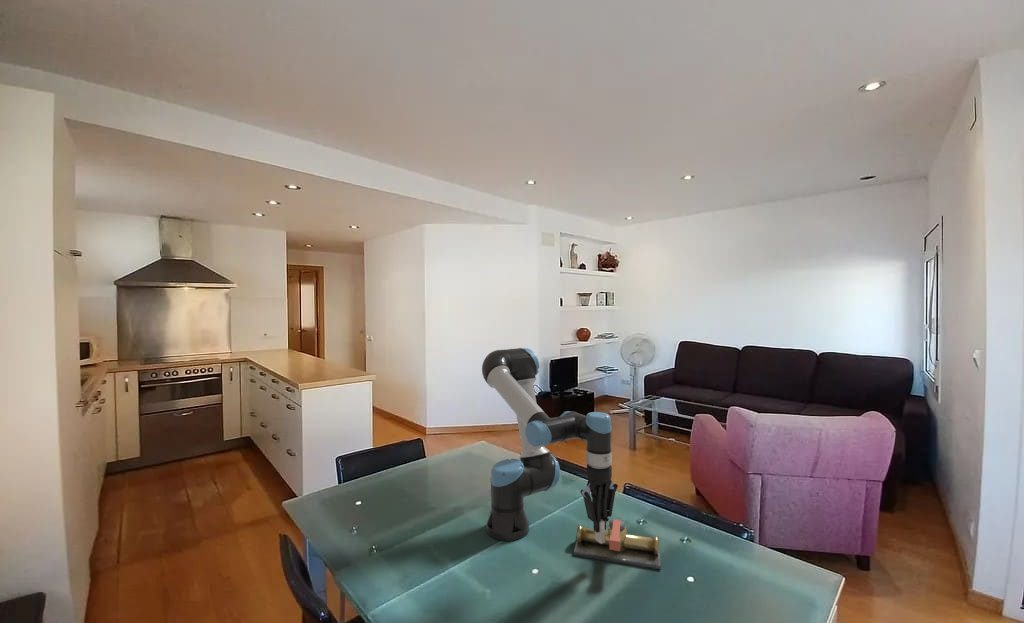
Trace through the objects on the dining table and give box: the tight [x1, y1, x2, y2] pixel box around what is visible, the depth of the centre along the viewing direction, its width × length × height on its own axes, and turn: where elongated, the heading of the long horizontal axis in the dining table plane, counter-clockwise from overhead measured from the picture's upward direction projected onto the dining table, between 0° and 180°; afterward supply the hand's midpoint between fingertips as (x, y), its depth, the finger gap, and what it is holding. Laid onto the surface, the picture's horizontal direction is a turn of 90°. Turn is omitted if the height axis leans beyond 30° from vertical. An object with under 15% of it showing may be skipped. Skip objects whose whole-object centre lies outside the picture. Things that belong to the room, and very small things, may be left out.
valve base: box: [573, 524, 662, 571], centre depth 133 cm, size 26×14×7 cm, turn 73°
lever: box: [608, 518, 626, 551], centre depth 128 cm, size 5×16×3 cm, turn 163°
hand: (600, 540), depth 126 cm, fingers closed
